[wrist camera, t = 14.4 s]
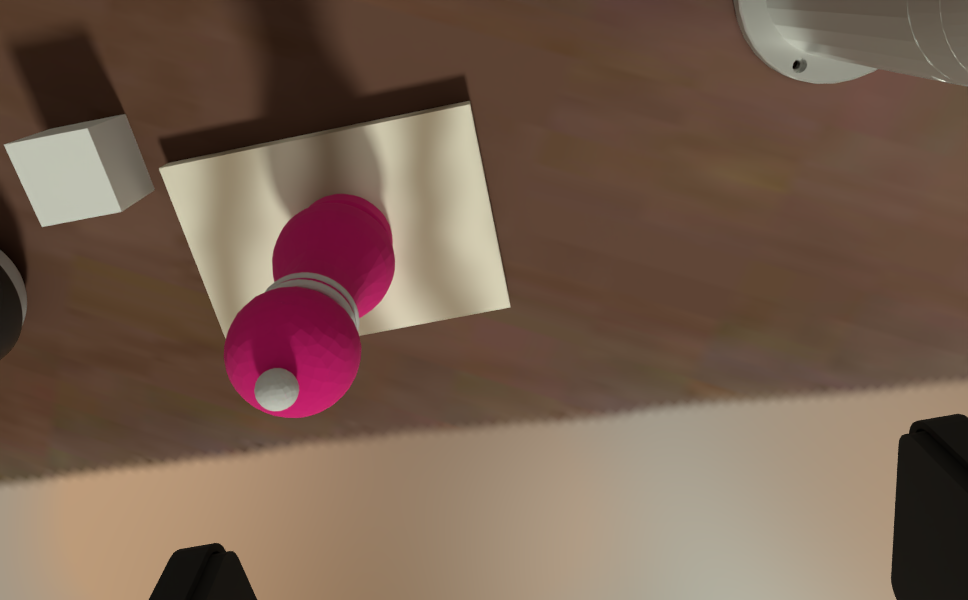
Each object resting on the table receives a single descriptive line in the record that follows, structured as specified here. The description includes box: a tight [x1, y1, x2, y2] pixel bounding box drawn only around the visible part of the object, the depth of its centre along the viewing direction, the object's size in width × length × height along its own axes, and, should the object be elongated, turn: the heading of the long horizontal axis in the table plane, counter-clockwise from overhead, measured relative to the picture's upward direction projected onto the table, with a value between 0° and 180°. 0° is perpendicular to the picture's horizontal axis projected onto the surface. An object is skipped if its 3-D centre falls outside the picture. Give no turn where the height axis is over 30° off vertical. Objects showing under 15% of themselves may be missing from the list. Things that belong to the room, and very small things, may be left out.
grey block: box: [4, 114, 155, 227], centre depth 43 cm, size 5×5×5 cm
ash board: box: [159, 101, 510, 338], centre depth 47 cm, size 20×14×2 cm
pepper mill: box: [224, 194, 395, 418], centre depth 37 cm, size 7×7×20 cm
